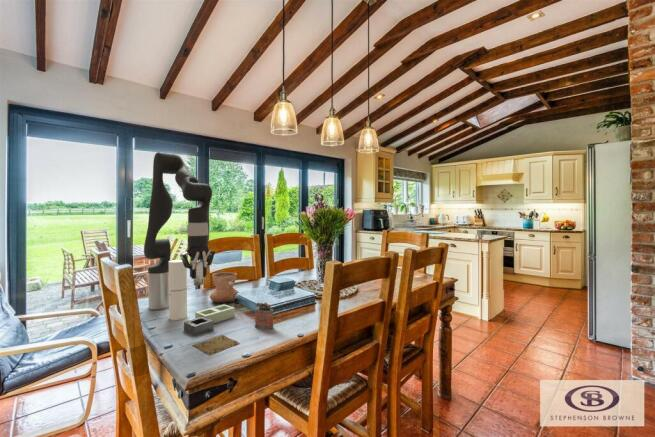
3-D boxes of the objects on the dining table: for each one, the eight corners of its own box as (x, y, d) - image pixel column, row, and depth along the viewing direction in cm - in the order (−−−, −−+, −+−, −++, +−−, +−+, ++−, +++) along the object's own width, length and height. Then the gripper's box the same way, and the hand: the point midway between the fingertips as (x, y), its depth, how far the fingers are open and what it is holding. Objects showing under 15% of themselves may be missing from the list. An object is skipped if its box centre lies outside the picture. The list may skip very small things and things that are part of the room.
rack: (195, 321, 132) (195, 312, 132) (224, 312, 143) (224, 304, 143) (205, 325, 127) (205, 316, 127) (234, 316, 138) (234, 307, 138)
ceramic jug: (244, 302, 160) (244, 274, 160) (217, 307, 150) (216, 278, 150) (230, 295, 173) (230, 269, 173) (204, 299, 164) (204, 273, 164)
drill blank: (191, 284, 122) (191, 261, 121) (200, 282, 125) (200, 260, 124) (196, 285, 120) (196, 262, 119) (205, 284, 122) (205, 261, 122)
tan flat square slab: (221, 335, 118) (221, 333, 118) (240, 344, 110) (240, 342, 110) (191, 346, 109) (191, 343, 109) (209, 357, 101) (209, 354, 101)
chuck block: (183, 330, 122) (183, 321, 122) (202, 324, 128) (202, 316, 128) (194, 335, 117) (194, 326, 117) (213, 329, 123) (213, 320, 123)
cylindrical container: (180, 320, 133) (179, 262, 132) (165, 319, 134) (164, 262, 134) (190, 314, 140) (190, 259, 139) (176, 313, 141) (176, 259, 141)
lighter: (275, 327, 126) (275, 302, 125) (270, 330, 123) (270, 305, 122) (257, 324, 128) (257, 300, 128) (253, 327, 125) (253, 303, 125)
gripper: (209, 232, 129) (209, 273, 130) (175, 234, 118) (175, 279, 119) (219, 233, 125) (219, 276, 125) (185, 235, 113) (185, 282, 114)
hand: (198, 277), depth 122 cm, fingers closed on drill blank, 3 cm apart
